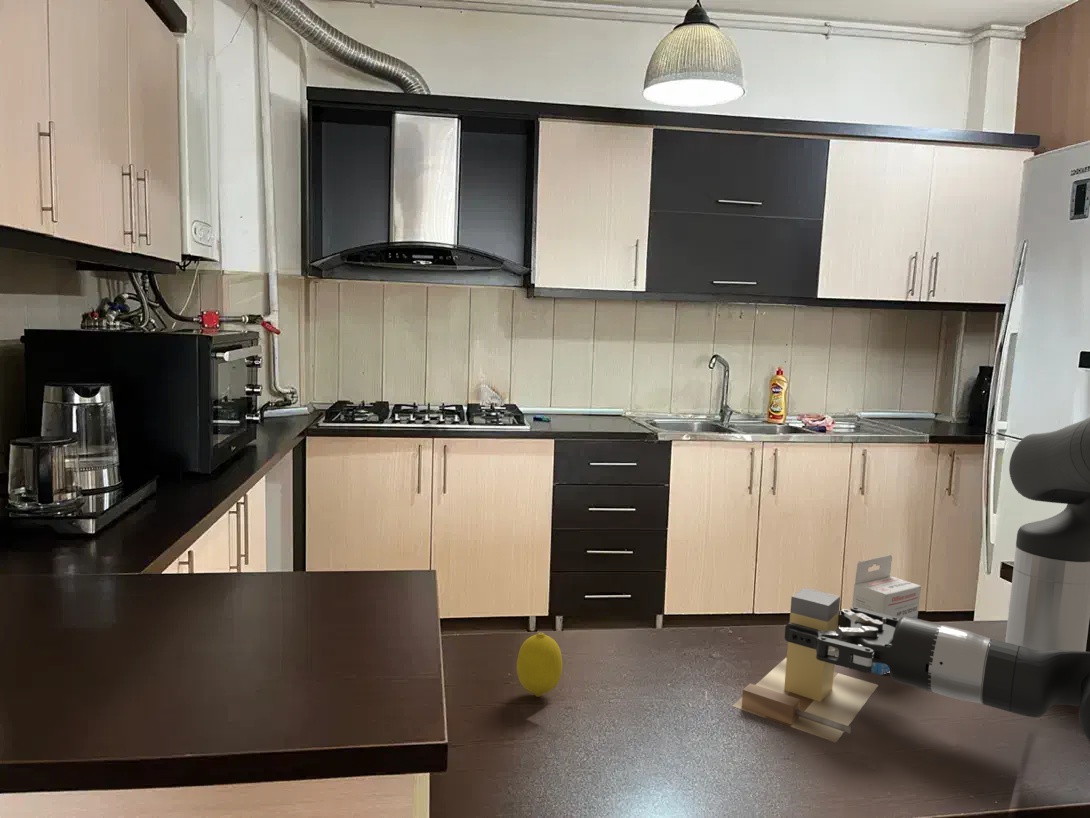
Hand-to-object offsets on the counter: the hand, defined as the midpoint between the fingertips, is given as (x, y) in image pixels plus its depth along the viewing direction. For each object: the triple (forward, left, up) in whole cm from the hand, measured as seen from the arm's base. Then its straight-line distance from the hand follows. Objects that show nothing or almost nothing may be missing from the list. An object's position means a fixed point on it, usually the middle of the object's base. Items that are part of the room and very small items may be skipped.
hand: (798, 621), depth 96 cm
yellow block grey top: (0, +2, -8) cm, 9 cm away
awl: (+9, +2, -8) cm, 12 cm away
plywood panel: (+2, +2, -10) cm, 10 cm away
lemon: (+22, -24, -10) cm, 34 cm away
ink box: (-17, +6, -10) cm, 21 cm away
